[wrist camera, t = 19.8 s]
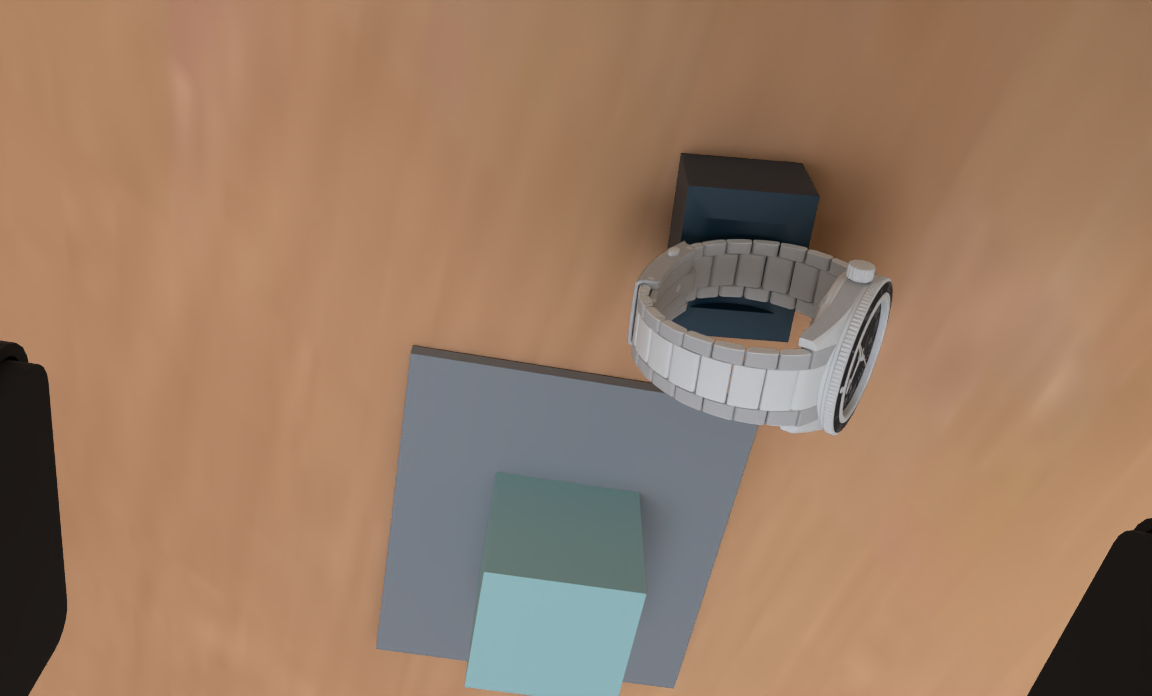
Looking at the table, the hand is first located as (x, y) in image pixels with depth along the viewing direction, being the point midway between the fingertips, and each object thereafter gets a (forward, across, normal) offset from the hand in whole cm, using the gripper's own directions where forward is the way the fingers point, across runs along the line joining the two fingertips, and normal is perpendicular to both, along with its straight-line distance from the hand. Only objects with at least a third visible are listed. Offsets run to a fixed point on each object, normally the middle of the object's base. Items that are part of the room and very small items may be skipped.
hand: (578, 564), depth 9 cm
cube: (+28, -3, +23) cm, 36 cm away
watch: (+28, -7, +8) cm, 30 cm away
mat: (+28, -3, +23) cm, 37 cm away
